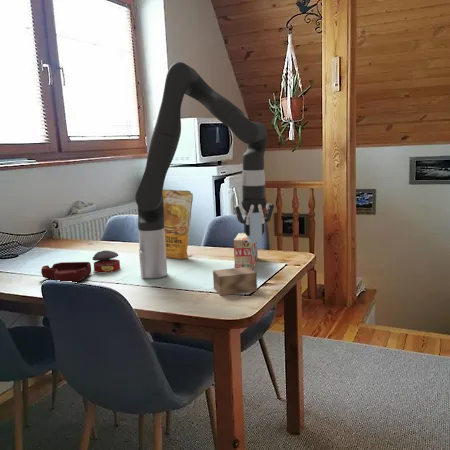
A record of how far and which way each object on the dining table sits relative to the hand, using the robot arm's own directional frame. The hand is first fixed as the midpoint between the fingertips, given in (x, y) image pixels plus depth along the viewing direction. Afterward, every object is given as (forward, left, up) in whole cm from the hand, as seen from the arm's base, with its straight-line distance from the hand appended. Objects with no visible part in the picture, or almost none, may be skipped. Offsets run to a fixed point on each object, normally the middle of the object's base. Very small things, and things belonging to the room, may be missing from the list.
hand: (254, 234), depth 164 cm
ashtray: (-61, +29, -16) cm, 69 cm away
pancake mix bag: (-20, +47, -16) cm, 54 cm away
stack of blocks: (+4, +21, -16) cm, 27 cm away
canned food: (-48, +37, -16) cm, 63 cm away
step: (-10, -8, -16) cm, 20 cm away
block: (0, 0, -2) cm, 2 cm away
